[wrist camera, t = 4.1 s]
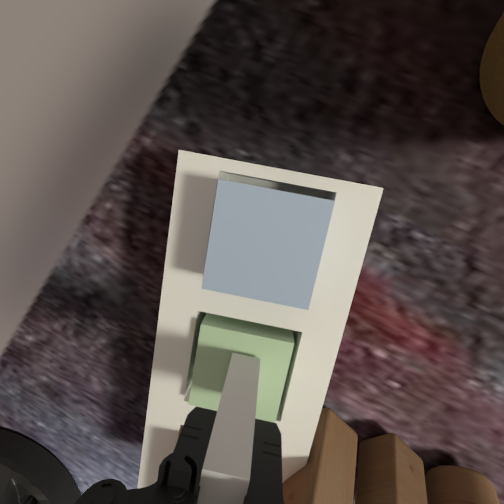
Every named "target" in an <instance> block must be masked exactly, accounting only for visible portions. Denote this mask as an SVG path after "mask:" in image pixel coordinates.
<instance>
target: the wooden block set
mask: <svg viewBox="0 0 504 504" xmlns="http://www.w3.org/2000/svg"><path fill="white" fill-rule="evenodd" d="M357 442H358V436H357V434H356V432H355V431H354V430H353V429H352V428H351V427H350V426H348V425H347V424H346V423H345V422H344V421H343V420H342V419H341V418H340V417H339V416H338V415H337V414H336V413H335V412H334V411H333V410H331V409H330V408H323V409H322V410H321V414H320V417H319V421H318V424H317V428H316V432H315V435H314V439H313V442H312V446H311V449H310V453H309V457H308V460H307V464H306V465H305V466H304V467H302V468H301V469H300V470H298V471H297V472H296V473H294V474H293V475H292V476H290V477H289V478H288V479H287V480H285V481H284V482H283V499H284V503H285V504H353V496H354V483H355V469H356V455H357ZM355 504H499V501H498V497H497V494H496V490H495V488H494V486H493V485H492V483H491V482H490V481H489V479H488V478H486V477H485V476H484V475H482V474H481V473H478V472H476V471H474V470H472V469H468V468H464V467H461V466H452V465H444V466H437V467H434V468H432V469H430V470H429V471H427V474H426V476H425V475H424V466H423V461H422V459H421V458H420V457H419V456H418V455H417V454H416V453H415V452H414V451H413V450H412V449H411V448H409V447H408V446H407V445H406V444H405V443H404V442H403V441H402V440H401V439H400V438H399V437H398V436H397V435H396V434H394V433H389V434H385V435H381V436H377V437H373V438H369V439H365V440H362V441H361V442H360V443H359V456H358V471H357V486H356V500H355Z"/></svg>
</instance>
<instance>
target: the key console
mask: <svg viewBox="0 0 504 504" xmlns="http://www.w3.org/2000/svg"><path fill="white" fill-rule="evenodd" d="M218 179H222V180H228V181H233V182H238V183H243V184H249V185H254V186H259V187H265V188H270V189H275V190H280V191H286V192H291V193H296V194H301V195H307V196H312V197H317V198H323V199H328V200H333V201H335V203H334V207H333V211H332V215H331V220H330V224H329V228H328V232H327V236H326V240H325V244H324V248H323V252H322V256H321V260H320V264H319V268H318V273H317V277H316V281H315V285H314V289H313V293H312V297H311V301H310V305H309V309H308V310H305V309H300V308H295V307H290V306H285V305H280V304H275V303H270V302H265V301H260V300H255V299H250V298H245V297H240V296H235V295H230V294H226V293H221V292H216V291H211V290H206V289H201V288H202V281H203V275H204V268H205V262H206V255H207V249H208V242H209V236H210V230H211V223H212V217H213V210H214V204H215V197H216V191H217V184H218ZM382 192H383V188H380V187H375V186H369V185H364V184H359V183H353V182H348V181H343V180H337V179H332V178H327V177H321V176H316V175H311V174H305V173H300V172H295V171H289V170H284V169H279V168H273V167H268V166H263V165H257V164H252V163H247V162H241V161H236V160H231V159H225V158H220V157H215V156H209V155H204V154H199V153H193V152H188V151H183V150H179V152H178V160H177V168H176V176H175V185H174V193H173V201H172V209H171V217H170V226H169V234H168V242H167V250H166V259H165V267H164V275H163V283H162V291H161V300H160V308H159V316H158V324H157V332H156V341H155V349H154V357H153V365H152V373H151V382H150V390H149V398H148V406H147V414H146V423H145V431H144V439H143V447H142V456H141V464H140V472H139V480H138V488H143V487H148V486H150V485H152V484H154V483H155V482H156V481H157V479H158V471H159V465H160V464H161V462H162V461H163V459H164V458H165V457H167V456H168V455H169V454H171V453H173V451H174V449H175V446H176V443H177V441H178V438H179V436H180V433H181V431H182V428H183V426H184V423H185V420H186V418H187V415H188V414H189V413H190V412H191V411H192V410H193V409H194V408H195V407H198V406H193V405H188V402H189V395H190V389H191V383H192V376H193V370H194V364H195V358H196V351H197V345H198V339H199V332H200V326H201V323H202V321H203V319H204V317H205V315H206V314H207V313H211V314H216V315H221V316H225V317H230V318H235V319H240V320H245V321H250V322H255V323H260V324H265V325H270V326H275V327H279V328H284V329H289V330H293V337H294V347H293V352H292V356H291V360H290V364H289V368H288V372H287V377H286V381H285V385H284V389H283V393H282V397H281V401H280V406H279V410H278V414H277V418H276V422H275V423H276V424H277V426H278V428H279V430H280V432H281V442H282V446H281V448H282V483H283V482H284V481H285V480H287V479H288V478H289V477H290V476H292V475H293V474H294V473H296V472H297V471H298V470H300V469H301V468H302V467H304V466H305V465H306V464H307V460H308V457H309V453H310V449H311V446H312V442H313V439H314V435H315V432H316V428H317V424H318V421H319V417H320V414H321V410H322V406H323V403H324V399H325V396H326V392H327V389H328V385H329V381H330V378H331V374H332V371H333V367H334V364H335V360H336V356H337V353H338V349H339V346H340V342H341V338H342V335H343V331H344V328H345V324H346V321H347V317H348V313H349V310H350V306H351V303H352V299H353V296H354V292H355V288H356V285H357V281H358V278H359V274H360V271H361V267H362V263H363V260H364V256H365V253H366V249H367V245H368V242H369V238H370V235H371V231H372V228H373V224H374V220H375V217H376V213H377V210H378V206H379V203H380V199H381V195H382ZM201 408H202V407H201ZM206 409H207V408H206ZM210 410H212V409H210ZM215 411H216V410H215ZM138 488H137V489H138Z"/></svg>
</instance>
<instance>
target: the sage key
mask: <svg viewBox="0 0 504 504" xmlns="http://www.w3.org/2000/svg"><path fill="white" fill-rule="evenodd" d="M293 347H294V337H293V330H289V329H284V328H279V327H275V326H270V325H265V324H260V323H255V322H250V321H245V320H240V319H235V318H230V317H225V316H221V315H216V314H211V313H207V314H206V315H205V317H204V319H203V321H202V323H201V326H200V332H199V339H198V345H197V351H196V358H195V364H194V370H193V376H192V383H191V389H190V395H189V402H188V405H193V406H198V407H202V408H207V409H212V410H216V411H217V410H218V407H219V403H220V399H221V395H222V391H223V387H224V384H225V380H226V376H227V372H228V368H229V364H230V360H231V357H232V353H237V354H241V355H246V356H251V357H256V358H260V370H259V381H258V392H257V404H256V415H255V419H260V420H264V421H269V422H273V423H275V422H276V418H277V414H278V410H279V406H280V401H281V397H282V393H283V389H284V385H285V381H286V377H287V372H288V368H289V364H290V360H291V356H292V352H293Z"/></svg>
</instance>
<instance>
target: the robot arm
mask: <svg viewBox="0 0 504 504" xmlns="http://www.w3.org/2000/svg"><path fill="white" fill-rule="evenodd" d="M259 370H260V358H256V357H251V356H246V355H241V354H237V353H232V357H231V360H230V364H229V368H228V372H227V376H226V380H225V384H224V387H223V391H222V395H221V399H220V403H219V407H218V410H217V411H215V410H210V409H206V408H201V407H195V408H194V409H193V410H192V411H191V412H190V413H189V414H188V415H187V418H186V420H185V423H184V426H183V428H182V431H181V433H180V436H179V438H178V441H177V443H176V446H175V449H174V451H173V453H171V454H169V455H168V456H167V457H165V458H164V459H163V461H162V462H161V464H160V465H159V471H158V479H157V481H156V482H155V483H154V484H152V485H150V486H148V487H143V488H138V489H130V490H126V487H125V485H124V484H123V483H122V482H121V481H118V480H115V479H106V480H102V481H99V482H97V483H95V484H93V485H92V486H91V487H90V488H89V489H87V490H86V491H85V492H84V493H83V495H82V496H81V494H80V491H79V489H78V487H77V485H76V483H75V482H74V480H73V478H72V477H71V475H70V474H69V472H68V471H67V470H66V469H65V468H64V466H63V465H62V464H61V463H60V462H59V461H58V460H57V459H56V458H55V457H54V456H52V455H51V454H50V453H49V452H48V451H46V450H45V449H44V448H42V447H41V446H39V445H38V444H36V443H34V442H32V441H31V440H29V439H27V438H25V437H22V436H20V435H18V434H15V433H13V432H9V431H6V430H2V429H0V504H285V503H284V499H283V483H282V448H281V446H282V442H281V432H280V430H279V428H278V426H277V424H276V423H273V422H269V421H264V420H260V419H255V415H256V404H257V392H258V381H259Z"/></svg>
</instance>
